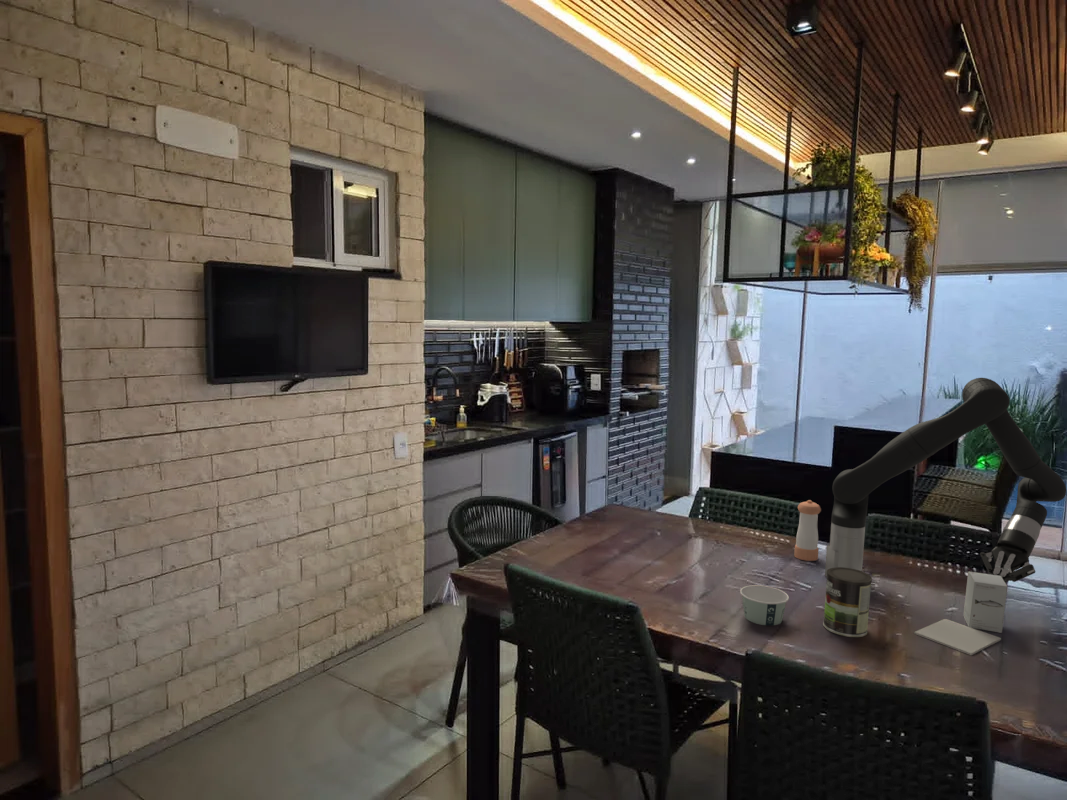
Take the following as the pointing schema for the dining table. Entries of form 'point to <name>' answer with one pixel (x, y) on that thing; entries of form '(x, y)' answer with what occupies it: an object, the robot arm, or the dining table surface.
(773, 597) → the food container
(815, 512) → the pepper shaker
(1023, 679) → the dining table surface
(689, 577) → the dining table surface
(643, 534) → the dining table surface
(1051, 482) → the robot arm
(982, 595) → the supplement box
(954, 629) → the mat
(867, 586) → the coffee can
